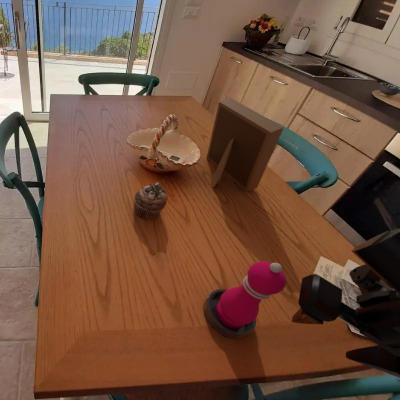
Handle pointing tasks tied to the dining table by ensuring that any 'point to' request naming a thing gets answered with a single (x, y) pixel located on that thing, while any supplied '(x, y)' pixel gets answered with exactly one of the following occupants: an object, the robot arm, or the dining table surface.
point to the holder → (217, 324)
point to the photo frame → (241, 144)
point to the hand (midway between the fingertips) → (319, 336)
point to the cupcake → (150, 201)
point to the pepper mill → (250, 294)
